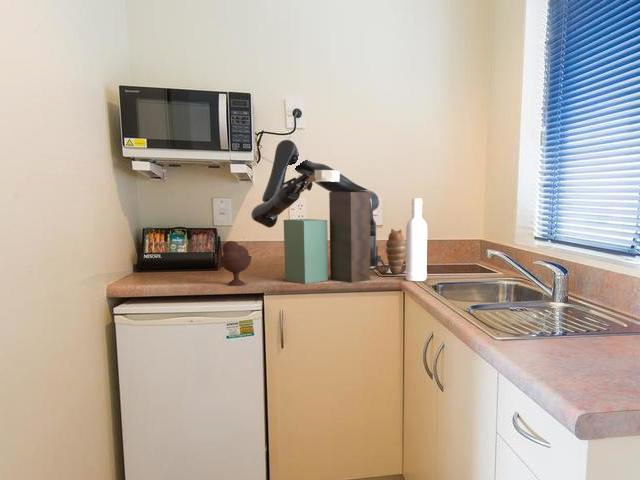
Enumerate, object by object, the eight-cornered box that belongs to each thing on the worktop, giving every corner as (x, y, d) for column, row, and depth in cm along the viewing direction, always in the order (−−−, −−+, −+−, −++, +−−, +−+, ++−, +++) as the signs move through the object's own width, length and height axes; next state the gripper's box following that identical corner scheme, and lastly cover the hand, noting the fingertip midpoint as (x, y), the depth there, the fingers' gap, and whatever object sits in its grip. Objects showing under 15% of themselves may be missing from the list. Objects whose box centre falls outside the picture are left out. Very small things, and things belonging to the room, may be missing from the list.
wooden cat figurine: (409, 274, 206) (410, 229, 203) (397, 276, 200) (397, 230, 197) (393, 271, 211) (393, 228, 209) (380, 273, 205) (380, 228, 203)
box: (308, 277, 195) (307, 219, 192) (328, 280, 189) (327, 220, 185) (285, 280, 187) (283, 219, 183) (305, 283, 180) (303, 220, 177)
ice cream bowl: (232, 288, 170) (230, 242, 167) (213, 284, 176) (211, 240, 174) (259, 284, 178) (257, 240, 176) (240, 280, 185) (238, 239, 182)
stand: (349, 276, 198) (348, 192, 193) (370, 279, 191) (370, 192, 186) (330, 279, 190) (329, 192, 185) (351, 282, 183) (351, 192, 178)
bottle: (416, 277, 197) (417, 198, 193) (430, 279, 192) (432, 198, 187) (400, 279, 192) (401, 198, 187) (415, 282, 186) (416, 198, 182)
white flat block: (309, 182, 202) (309, 171, 201) (344, 182, 190) (344, 171, 189) (291, 181, 195) (291, 170, 194) (326, 181, 183) (326, 169, 182)
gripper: (268, 188, 200) (292, 164, 190) (296, 189, 211) (320, 166, 200) (274, 205, 199) (299, 182, 188) (302, 205, 210) (327, 183, 199)
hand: (310, 174), depth 194 cm, fingers closed on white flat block, 2 cm apart
